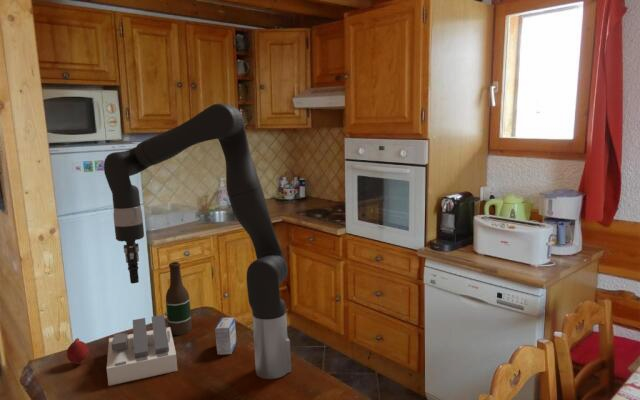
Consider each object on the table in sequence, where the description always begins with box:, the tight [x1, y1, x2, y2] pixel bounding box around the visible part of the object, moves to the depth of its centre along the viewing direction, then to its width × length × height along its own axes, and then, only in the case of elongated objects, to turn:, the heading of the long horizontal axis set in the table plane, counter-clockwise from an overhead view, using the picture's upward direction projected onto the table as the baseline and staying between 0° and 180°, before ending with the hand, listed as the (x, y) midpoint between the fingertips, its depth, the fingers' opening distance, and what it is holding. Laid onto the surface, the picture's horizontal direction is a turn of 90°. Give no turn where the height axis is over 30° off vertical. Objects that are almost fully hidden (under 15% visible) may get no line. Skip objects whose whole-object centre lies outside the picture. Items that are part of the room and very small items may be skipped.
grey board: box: [112, 332, 128, 350], centre depth 135 cm, size 4×16×2 cm, turn 22°
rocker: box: [132, 317, 149, 358], centre depth 137 cm, size 4×16×2 cm, turn 22°
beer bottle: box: [165, 261, 193, 336], centre depth 157 cm, size 8×8×24 cm
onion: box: [66, 337, 90, 365], centre depth 138 cm, size 6×6×8 cm
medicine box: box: [214, 317, 237, 356], centre depth 144 cm, size 8×4×9 cm, turn 179°
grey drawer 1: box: [151, 314, 169, 354], centre depth 139 cm, size 4×16×2 cm, turn 22°
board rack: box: [106, 326, 179, 387], centre depth 138 cm, size 18×20×8 cm
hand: (134, 280), depth 134 cm, fingers open, 3 cm apart
